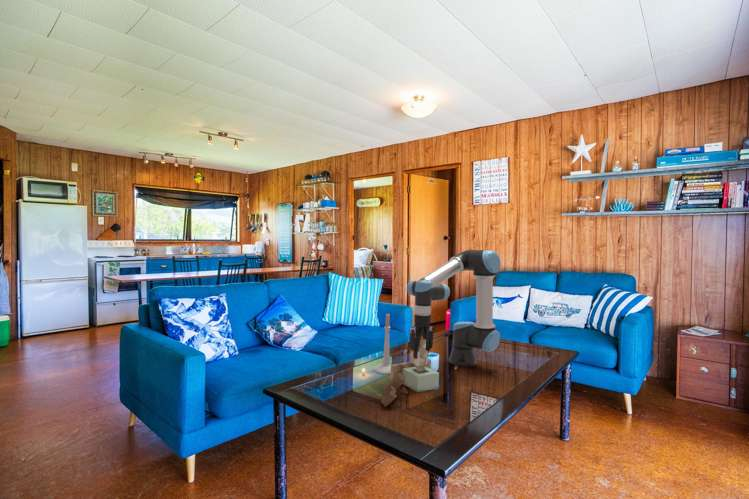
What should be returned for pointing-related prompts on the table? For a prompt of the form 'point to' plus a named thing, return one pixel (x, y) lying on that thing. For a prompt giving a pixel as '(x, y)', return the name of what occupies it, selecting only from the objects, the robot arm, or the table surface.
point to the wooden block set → (393, 389)
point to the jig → (399, 367)
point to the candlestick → (385, 352)
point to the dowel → (421, 356)
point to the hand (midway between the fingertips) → (420, 364)
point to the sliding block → (421, 379)
